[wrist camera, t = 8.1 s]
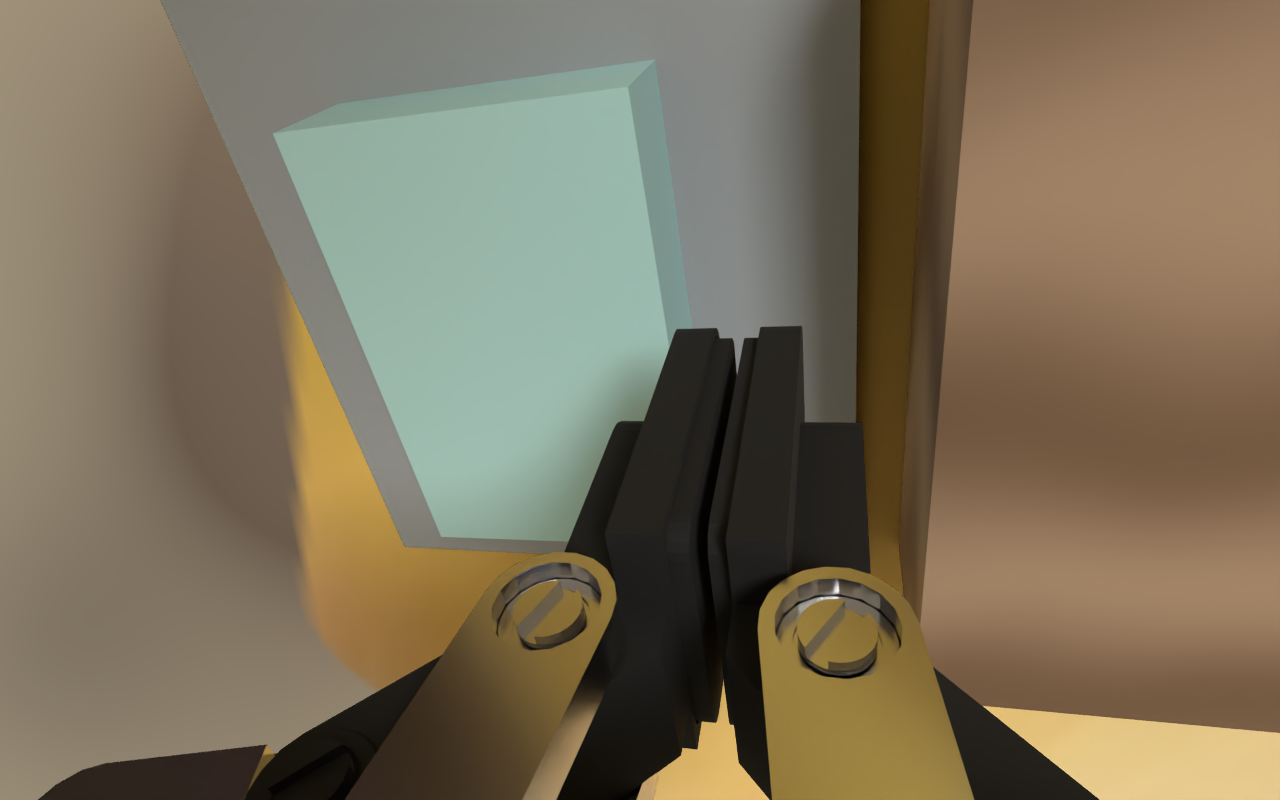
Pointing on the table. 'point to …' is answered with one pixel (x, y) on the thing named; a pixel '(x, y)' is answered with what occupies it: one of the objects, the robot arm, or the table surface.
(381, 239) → the block
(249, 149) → the mat
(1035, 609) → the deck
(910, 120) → the table surface
